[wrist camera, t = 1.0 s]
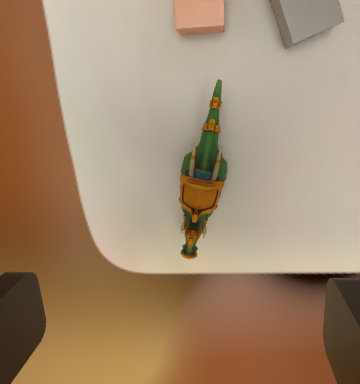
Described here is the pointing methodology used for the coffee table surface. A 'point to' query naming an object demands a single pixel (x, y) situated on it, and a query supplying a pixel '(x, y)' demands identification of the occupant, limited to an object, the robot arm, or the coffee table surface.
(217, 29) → the terracotta brick
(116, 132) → the coffee table surface
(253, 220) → the coffee table surface
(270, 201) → the coffee table surface
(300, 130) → the coffee table surface
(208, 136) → the figurine
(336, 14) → the slate-grey brick
